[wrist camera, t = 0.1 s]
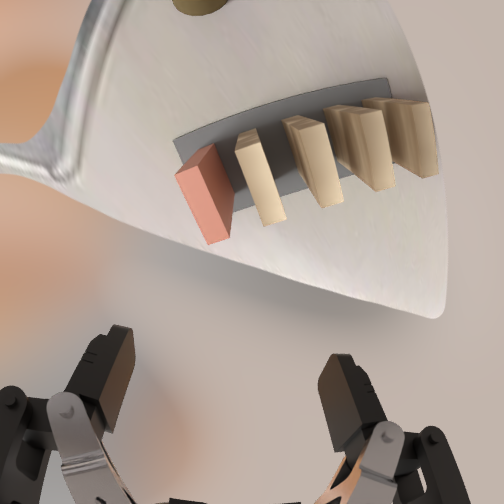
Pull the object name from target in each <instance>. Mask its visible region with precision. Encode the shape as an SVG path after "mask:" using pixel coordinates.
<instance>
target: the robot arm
mask: <svg viewBox="0 0 504 504" xmlns="http://www.w3.org/2000/svg"><path fill="white" fill-rule="evenodd" d="M134 366H135V348H134V338H133V330H132V329H131V328H128V327H123V326H119V325H113V326H112V327H111V329H110V331H109V333H108V335H107V336H106V335H102V334H100V335H98V336H97V337H96V338H94V339H93V340H92V341H91V342H90V343H89V345H88V347H87V349H86V351H85V353H84V354H83V356H82V358H81V361H80V362H79V364H78V365H77V367H76V369H75V371H74V373H73V375H72V377H71V379H70V381H69V383H68V385H67V387H66V389H65V390H64V391H63V392H60V393H57V394H55V395H53V396H52V397H51V398H50V399H40V398H31V397H27V396H26V395H25V393H24V392H23V391H22V390H21V389H20V388H19V387H16V386H7V387H4V388H3V389H1V390H0V504H39V500H40V495H41V490H42V486H43V481H44V477H45V473H46V469H47V465H48V461H49V458H50V454H51V451H52V450H56V451H59V454H60V457H61V459H62V465H61V470H62V473H63V476H64V479H65V481H66V483H67V486H68V488H69V490H70V493H71V495H72V496H73V499H74V501H75V503H76V504H137V503H136V501H135V499H134V498H133V497H132V495H131V493H130V492H129V490H128V488H127V487H126V485H125V484H124V482H123V481H122V479H121V477H120V475H119V474H118V472H117V470H116V468H115V466H114V464H113V462H112V461H111V459H110V457H109V455H108V453H107V450H106V449H105V446H104V444H103V442H102V437H103V434H104V431H106V432H109V433H113V431H114V428H115V425H116V421H117V418H118V415H119V411H120V408H121V405H122V402H123V399H124V396H125V393H126V390H127V387H128V384H129V381H130V378H131V375H132V373H133V369H134ZM318 391H319V395H320V399H321V403H322V406H323V410H324V414H325V417H326V421H327V425H328V429H329V433H330V436H331V440H332V444H333V448H334V451H335V452H342V451H345V454H346V456H345V457H344V458H343V460H342V462H341V464H340V465H339V467H338V469H337V471H336V473H335V475H334V477H333V478H332V480H331V482H330V483H329V485H328V487H327V489H326V490H325V492H324V493H323V494H322V495H321V496H320V497H319V498H318V499H317V501H316V502H315V503H314V504H391V503H392V502H393V504H471V503H470V500H469V497H468V494H467V491H466V488H465V485H464V482H463V480H462V477H461V474H460V471H459V469H458V466H457V464H456V461H455V459H454V456H453V454H452V451H451V449H450V447H449V444H448V442H447V439H446V437H445V435H444V433H443V432H442V431H441V430H440V429H439V428H437V427H435V426H428V427H426V428H424V429H423V430H422V431H421V432H420V433H411V432H403V430H402V429H401V427H400V426H398V425H397V424H396V423H394V422H391V421H388V420H387V418H386V415H385V413H384V411H383V408H382V406H381V404H380V402H379V399H378V397H377V395H376V393H375V390H374V388H373V386H372V385H371V382H370V379H369V377H368V375H367V373H366V372H365V371H364V370H363V369H362V368H361V367H360V366H356V365H355V363H354V360H353V358H352V356H351V355H350V354H332V355H331V356H330V357H329V360H328V361H327V363H326V366H325V367H324V369H323V371H322V373H321V375H320V377H319V380H318ZM420 467H421V469H422V472H423V475H424V478H425V481H426V485H427V490H426V492H425V493H424V490H423V487H422V483H421V480H420V477H419V474H418V471H417V469H419V468H420ZM157 504H206V503H203V502H194V501H187V500H180V499H173V498H170V500H169V502H168V503H157ZM284 504H301V502H296V503H284Z"/></svg>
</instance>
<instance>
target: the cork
mask: <svg viewBox="0 0 504 504" xmlns="http://www.w3.org/2000/svg"><path fill="white" fill-rule="evenodd" d="M172 1H173V4H174V6H175V7H176V8H177V10H179V11H180V12H182V13H184V14H187V15H191V16H202V15H206V14H210V13H212V12H214V11H216V10H218V9H220V8H221V7H222V6H223V5H224V4H226V2H227V0H172Z"/></svg>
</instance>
